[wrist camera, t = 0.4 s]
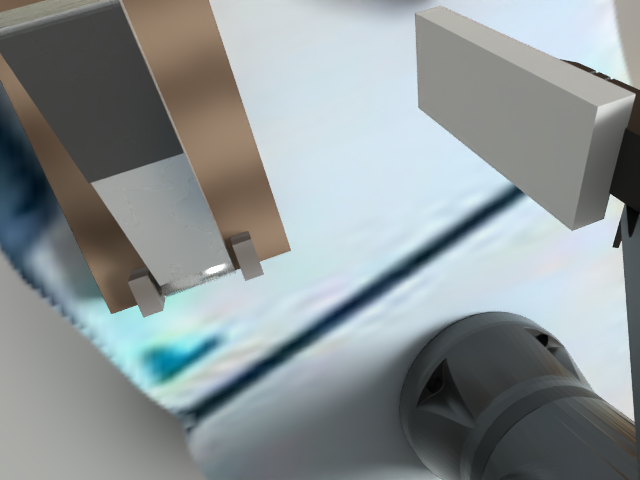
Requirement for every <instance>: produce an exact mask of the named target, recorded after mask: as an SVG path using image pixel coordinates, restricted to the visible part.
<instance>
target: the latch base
mask: <svg viewBox="0 0 640 480" xmlns="http://www.w3.org/2000/svg"><path fill="white" fill-rule="evenodd" d="M42 1H45V0H0V13H1V12H4V11H8V10H12V9H16V8H19V7H23V6H27V5H30V4H34V3H38V2H42ZM122 2H123V4H124V6H125V9H126V11H127V13H128V16H129V18H130V20H131V23H132V25H133V28H134V30H135V32H136V35H137V37H138V39H139V42H140V44H141V46H142V49H143V51H144V53H145V56H146V58H147V61H148V63H149V65H150V68H151V70H152V72H153V75H154V77H155V79H156V82H157V84H158V86H159V89H160V91H161V94H162V96H163V98H164V101H165V103H166V105H167V108H168V110H169V112H170V115H171V117H172V119H173V122H174V124H175V127H176V129H177V131H178V134H179V136H180V138H181V141H182V143H183V145H184V148H185V150H186V152H187V155H188V157H189V160H190V162H191V164H192V167H193V169H194V171H195V174H196V176H197V178H198V181H199V183H200V185H201V188H202V190H203V192H204V195H205V197H206V200H207V202H208V204H209V207H210V209H211V211H212V214H213V216H214V218H215V221H216V223H217V225H218V228H219V230H220V233H221V235H222V237H223V240H224V242H225V244H226V247H227V249H228V251H229V253H230V256H231V259H232V261H233V264H234V267H235V270H237V269H240V268H241V270H242V273H243V276H244V279H245V281H247V280H249V279H252V278H255V277H258V276H260V275H263V274H264V273H263V270H262V268H261V265H260V261H263V260H266V259H268V258H271V257H274V256H277V255H280V254H282V253H285V252H288V251H291V249H290V246H289V243H288V240H287V237H286V234H285V231H284V228H283V225H282V222H281V219H280V215H279V212H278V209H277V206H276V203H275V200H274V197H273V194H272V191H271V188H270V185H269V182H268V179H267V176H266V173H265V170H264V167H263V164H262V161H261V158H260V155H259V152H258V149H257V146H256V143H255V140H254V136H253V133H252V130H251V127H250V124H249V121H248V118H247V115H246V112H245V109H244V106H243V103H242V100H241V97H240V94H239V91H238V88H237V85H236V82H235V79H234V76H233V73H232V70H231V67H230V64H229V60H228V57H227V54H226V51H225V48H224V45H223V42H222V39H221V36H220V33H219V30H218V27H217V24H216V21H215V18H214V15H213V12H212V9H211V6H210V3H209V0H122ZM0 80H1V82H2V84H3V86H4V88H5V91H6V93H7V95H8V97H9V99H10V101H11V103H12V105H13V108H14V110H15V112H16V114H17V116H18V118H19V120H20V122H21V124H22V127H23V129H24V131H25V133H26V135H27V137H28V139H29V141H30V143H31V146H32V148H33V150H34V152H35V154H36V156H37V158H38V160H39V162H40V165H41V167H42V169H43V171H44V173H45V175H46V177H47V179H48V181H49V184H50V186H51V188H52V190H53V192H54V194H55V196H56V198H57V200H58V203H59V205H60V207H61V209H62V211H63V213H64V215H65V217H66V219H67V222H68V224H69V226H70V228H71V230H72V232H73V234H74V236H75V238H76V241H77V243H78V245H79V247H80V249H81V251H82V253H83V255H84V257H85V260H86V262H87V264H88V266H89V268H90V270H91V272H92V274H93V276H94V279H95V281H96V283H97V285H98V287H99V289H100V291H101V293H102V295H103V298H104V300H105V302H106V304H107V306H108V308H109V310H110V312H111V314H113V313H116V312H119V311H122V310H125V309H127V308H130V307H133V306H136V305H138V306H139V309H140V311H141V313H142V315H143V317H146V316H149V315H152V314H154V313H157V312H160V311H163V308H164V302H165V297H164V295H165V294H164V292H163V290H162V288H161V286H160V285H159V283H158V282H157V280H156V279H155V278H154V276H153V275H152V273H151V272H150V270H149V269H148V267H147V266H146V264H145V263H144V261H143V260H142V258H141V257H140V255H139V254H138V252H137V251H136V249H135V248H134V246H133V245H132V243H131V242H130V240H129V239H128V237H127V236H126V234H125V233H124V231H123V230H122V229H121V227H120V226H119V224H118V223H117V221H116V220H115V218H114V217H113V215H112V214H111V212H110V211H109V209H108V208H107V206H106V205H105V203H104V202H103V200H102V199H101V197H100V196H99V194H98V193H97V191H96V190H95V188H94V187H93V185H92V184H91V183H88V182H87V180H86V179H85V177H84V176H83V174H82V173H81V171H80V170H79V169H78V167H77V166H76V164H75V163H74V161H73V160H72V158H71V157H70V155H69V154H68V152H67V151H66V149H65V148H64V146H63V145H62V143H61V142H60V141H59V139H58V138H57V136H56V135H55V133H54V132H53V130H52V129H51V127H50V126H49V124H48V123H47V121H46V120H45V118H44V117H43V116H42V114H41V113H40V111H39V110H38V108H37V107H36V105H35V104H34V102H33V101H32V99H31V98H30V96H29V95H28V93H27V92H26V90H25V89H24V88H23V86H22V85H21V83H20V82H19V80H18V79H17V77H16V76H15V74H14V73H13V71H12V70H11V68H10V67H9V65H8V64H7V63H6V61H5V60H4V58H3V57H2V55H1V54H0Z"/></svg>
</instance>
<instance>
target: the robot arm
mask: <svg viewBox="0 0 640 480" xmlns="http://www.w3.org/2000/svg"><path fill="white" fill-rule="evenodd" d="M415 27H416V54H417V81H418V108H419V109H421V110H422V111H423V112H424V113H426V114H427V115H428V116H429V117H431V118H432V119H433V120H434V121H436V122H437V123H438V124H439V125H441V126H442V127H443V128H444V129H446V130H447V131H448V132H449V133H451V134H452V135H453V136H454V137H456V138H457V139H458V140H459V141H461V142H462V143H463V144H464V145H466V146H467V147H468V148H469V149H471V150H472V151H473V152H474V153H476V154H477V155H478V156H479V157H481V158H482V159H483V160H484V161H486V162H487V163H488V164H489V165H490V166H492V167H493V168H494V169H495V170H497V171H498V172H499V173H500V174H502V175H503V176H504V177H505V178H507V179H508V180H509V181H510V182H512V183H513V184H514V185H515V186H517V187H518V188H519V189H520V190H522V191H523V192H524V193H525V194H527V195H528V196H529V197H530V198H532V199H533V200H534V201H535V202H537V203H538V204H539V205H540V206H542V207H543V208H544V209H545V210H547V211H548V212H549V213H550V214H552V215H553V216H554V217H555V218H557V219H558V220H559V221H560V222H561V223H563V224H564V225H565V226H566V227H568V228H569V229H570V230H571V231H573V230H576V229H578V228H581V227H584V226H586V225H589V224H591V223H594V222H597V221H599V220H602V219H604V216H605V212H606V208H607V204H608V200H609V196H610V194H612V195H613V196H615V197H616V198H617V199H619V200H620V201H622V202H623V203H625V205H624V208H623V212H622V215H621V219H620V222H619V226H618V229H617V233H616V236H615V240H614V243H613V247H614V248H619V245H620V243H621V241H622V248H623V262H624V277H625V291H626V305H627V319H628V333H629V348H630V362H631V376H632V390H633V404H634V419H635V422H634V421H632V420H631V419H629V418H628V417H627V416H625V415H624V414H623V413H621V412H620V411H619V410H617V409H616V408H614V407H613V406H612V405H610V404H609V403H607V402H606V401H605V400H603V399H602V398H601V397H599V396H598V395H597V394H596V393H594V391H593V390H592V388H591V387H590V385H589V383H588V382H587V380H586V379H585V377H584V376H583V374H582V373H581V371H580V370H579V368H578V367H577V365H576V364H575V362H574V361H573V359H572V357H571V356H570V354H569V353H568V351H567V350H566V348H565V347H564V346H563V345H562V343H561V342H560V341H559V340H558V339H557V338H556V337H554V336H553V335H552V334H551V333H549V332H548V331H547V330H545V329H544V328H542V327H541V326H539V325H538V324H536V323H535V322H533V321H531V320H530V319H528V318H526V317H523V316H520V315H517V314H513V313H506V312H490V313H483V314H478V315H475V316H471V317H469V318H466V319H463V320H461V321H459V322H457V323H455V324H453V325H452V326H450V327H448V328H447V329H445V330H444V331H442V332H441V333H440V334H438V335H437V336H436V337H435V338H434V339H433V340H431V341H430V342H429V344H428V345H427V346H426V347H425V348H424V349H423V350H422V351H421V353H420V354H419V355H418V357H417V358H416V360H415V361H414V363H413V364H412V366H411V368H410V370H409V372H408V374H407V376H406V379H405V382H404V385H403V388H402V392H401V398H400V419H401V424H402V428H403V431H404V433H405V436H406V438H407V440H408V441H409V443H410V445H411V446H412V448H413V450H414V451H415V453H416V454H417V456H418V457H419V459H420V460H421V461H422V463H423V464H424V465H425V466H426V467H427V468H428V469H429V470H430V471H431V472H432V473H434V474H435V475H436V476H438V477H439V478H441V479H442V480H640V90H638V89H636V88H634V87H632V86H629V85H627V84H625V83H623V82H620V81H618V80H616V79H612V80H611V79H610V77H609V76H607V75H604V74H602V73H600V72H598V73H596V71H595V70H593V69H591V68H589V67H586V66H584V65H582V64H580V63H577V62H571V61H566V60H561V59H557V58H555V57H553V56H551V55H549V54H546V53H544V52H542V51H540V50H537V49H535V48H533V47H531V46H529V45H526V44H524V43H522V42H520V41H518V40H515V39H513V38H511V37H509V36H507V35H504V34H502V33H500V32H498V31H495V30H493V29H491V28H489V27H487V26H484V25H482V24H480V23H478V22H476V21H473V20H471V19H469V18H467V17H465V16H462V15H460V14H458V13H456V12H453V11H451V10H449V9H447V8H445V7H442V6H438V7H434V8H431V9H427V10H424V11H421V12H417V13H415Z"/></svg>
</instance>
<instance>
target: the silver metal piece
mask: <svg viewBox="0 0 640 480" xmlns="http://www.w3.org/2000/svg"><path fill="white" fill-rule="evenodd" d="M0 54H1V55H2V57H3V58H4V60H5V61H6V63H7V64H8V65H9V67H10V68H11V70H12V71H13V73H14V74H15V76H16V77H17V79H18V80H19V82H20V83H21V85H22V86H23V88H24V89H25V90H26V92H27V93H28V95H29V96H30V98H31V99H32V101H33V102H34V104H35V105H36V107H37V108H38V110H39V111H40V113H41V114H42V116H43V117H44V118H45V120H46V121H47V123H48V124H49V126H50V127H51V129H52V130H53V132H54V133H55V135H56V136H57V138H58V139H59V141H60V142H61V143H62V145H63V146H64V148H65V149H66V151H67V152H68V154H69V155H70V157H71V158H72V160H73V161H74V163H75V164H76V166H77V167H78V169H79V170H80V171H81V173H82V174H83V176H84V177H85V179H86V180H87V182H88V183H91V184H92V185H93V187H94V188H95V190H96V191H97V193H98V194H99V196H100V197H101V199H102V200H103V202H104V203H105V205H106V206H107V208H108V209H109V211H110V212H111V214H112V215H113V217H114V218H115V220H116V221H117V223H118V224H119V226H120V227H121V229H122V230H123V231H124V233H125V234H126V236H127V237H128V239H129V240H130V242H131V243H132V245H133V246H134V248H135V249H136V251H137V252H138V254H139V255H140V257H141V258H142V260H143V261H144V263H145V264H146V266H147V267H148V269H149V270H150V272H151V273H152V275H153V276H154V278H155V279H156V280H157V282H158V283H159V285H160V286H161V288H162V290H163V292H164V294H165V296H166V297H170V296H172V295H175V294H178V293H181V292H184V291H186V290H189V289H192V288H195V287H198V286H200V285H203V284H206V283H209V282H212V281H215V280H217V279H220V278H223V277H226V276H229V275H231V274H234V273H236V270H235V267H234V264H233V261H232V259H231V256H230V253H229V251H228V249H227V247H226V244H225V242H224V240H223V237H222V235H221V233H220V230H219V228H218V225H217V223H216V221H215V218H214V216H213V214H212V211H211V209H210V207H209V204H208V202H207V200H206V197H205V195H204V192H203V190H202V188H201V185H200V183H199V181H198V178H197V176H196V174H195V171H194V169H193V167H192V164H191V162H190V160H189V157H188V155H187V152H186V150H185V148H184V145H183V143H182V141H181V138H180V136H179V134H178V131H177V129H176V127H175V124H174V122H173V119H172V117H171V115H170V112H169V110H168V108H167V105H166V103H165V101H164V98H163V96H162V94H161V91H160V89H159V86H158V84H157V82H156V79H155V77H154V75H153V72H152V70H151V68H150V65H149V63H148V61H147V58H146V56H145V53H144V51H143V49H142V46H141V44H140V42H139V39H138V37H137V35H136V32H135V30H134V28H133V25H132V23H131V20H130V18H129V16H128V13H127V11H126V9H125V6H124V4H123V2H122V0H45V1H42V2H38V3H34V4H30V5H27V6H23V7H19V8H16V9H12V10H8V11H4V12H1V13H0Z"/></svg>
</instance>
